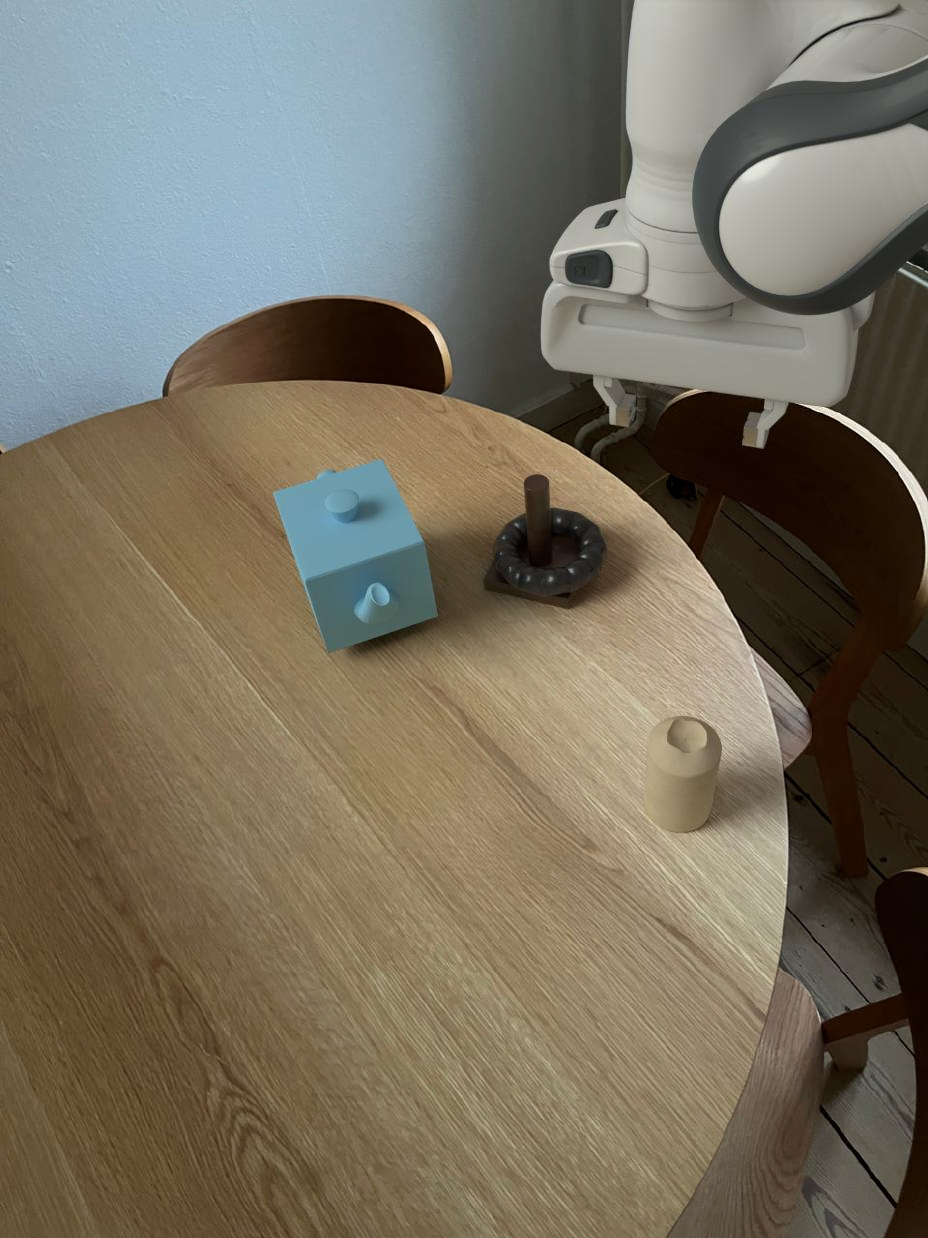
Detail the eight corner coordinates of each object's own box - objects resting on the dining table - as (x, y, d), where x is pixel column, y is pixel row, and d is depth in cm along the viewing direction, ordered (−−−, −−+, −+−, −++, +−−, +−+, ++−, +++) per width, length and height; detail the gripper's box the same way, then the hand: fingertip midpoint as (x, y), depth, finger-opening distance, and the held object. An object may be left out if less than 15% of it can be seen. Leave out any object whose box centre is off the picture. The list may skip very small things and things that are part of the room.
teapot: (294, 559, 103) (261, 458, 93) (392, 528, 105) (371, 425, 95) (348, 712, 89) (316, 612, 79) (461, 672, 91) (444, 570, 80)
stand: (597, 548, 100) (597, 461, 91) (568, 609, 95) (566, 523, 86) (516, 530, 103) (509, 444, 94) (484, 589, 98) (473, 503, 89)
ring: (620, 534, 99) (621, 515, 97) (584, 612, 92) (584, 593, 90) (518, 512, 102) (517, 493, 100) (477, 585, 96) (474, 566, 94)
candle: (659, 842, 77) (667, 774, 70) (632, 786, 81) (636, 716, 73) (723, 821, 78) (737, 752, 70) (693, 767, 81) (703, 696, 74)
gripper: (890, 234, 56) (848, 427, 66) (559, 208, 63) (567, 386, 74) (873, 289, 53) (832, 484, 63) (524, 255, 60) (538, 435, 70)
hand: (687, 431), depth 68 cm, fingers open, 8 cm apart
